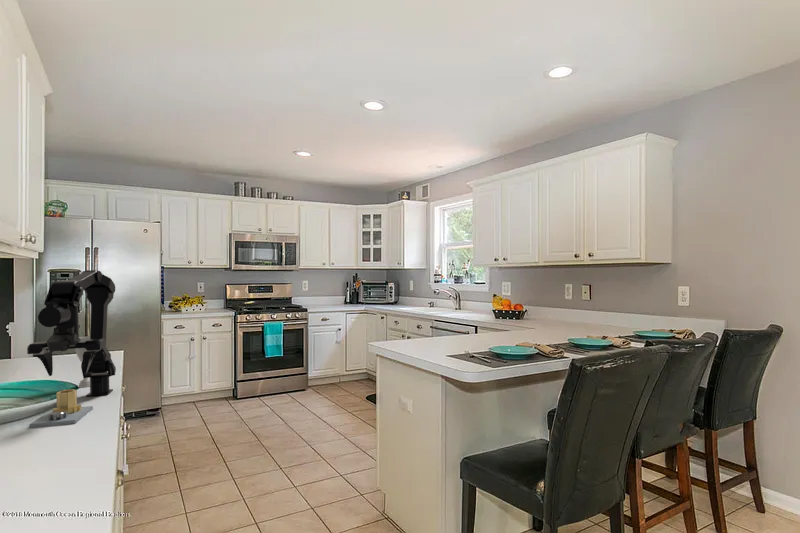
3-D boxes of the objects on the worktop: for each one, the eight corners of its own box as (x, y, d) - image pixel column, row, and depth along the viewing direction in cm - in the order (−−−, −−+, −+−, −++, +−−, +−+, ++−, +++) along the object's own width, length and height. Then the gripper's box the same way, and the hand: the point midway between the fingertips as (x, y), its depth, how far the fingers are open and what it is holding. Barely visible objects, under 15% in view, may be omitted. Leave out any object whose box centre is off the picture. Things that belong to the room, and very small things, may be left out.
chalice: (101, 383, 180) (100, 336, 180) (88, 388, 173) (87, 339, 173) (83, 383, 180) (82, 336, 180) (69, 388, 174) (68, 339, 174)
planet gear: (58, 409, 144) (57, 389, 144) (84, 407, 146) (84, 387, 146) (48, 416, 137) (47, 395, 137) (76, 413, 139) (75, 393, 139)
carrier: (51, 412, 144) (51, 394, 144) (92, 409, 147) (92, 391, 147) (29, 427, 130) (29, 407, 130) (75, 423, 133) (75, 403, 133)
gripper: (16, 328, 132) (18, 383, 132) (93, 324, 137) (94, 378, 137) (35, 323, 143) (36, 374, 143) (105, 320, 148) (106, 369, 148)
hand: (68, 374), depth 143 cm, fingers open, 9 cm apart
